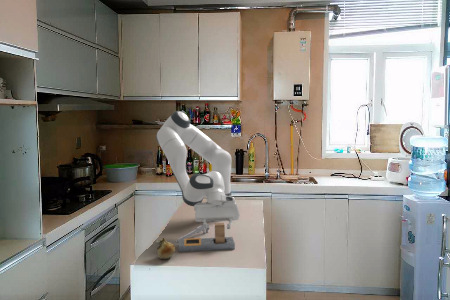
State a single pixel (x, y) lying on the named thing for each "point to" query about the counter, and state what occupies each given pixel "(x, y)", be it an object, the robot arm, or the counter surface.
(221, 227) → the peg
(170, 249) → the onion
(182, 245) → the rail
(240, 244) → the counter surface
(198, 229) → the caliper
